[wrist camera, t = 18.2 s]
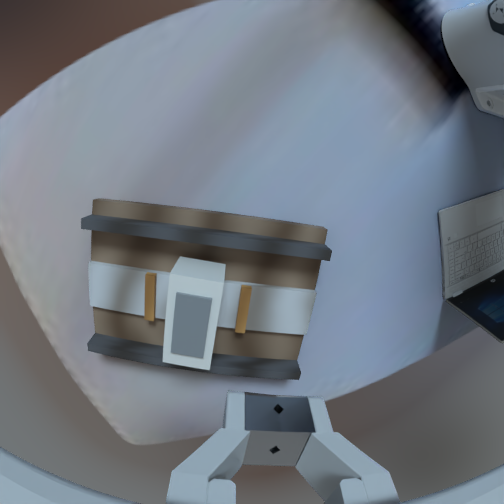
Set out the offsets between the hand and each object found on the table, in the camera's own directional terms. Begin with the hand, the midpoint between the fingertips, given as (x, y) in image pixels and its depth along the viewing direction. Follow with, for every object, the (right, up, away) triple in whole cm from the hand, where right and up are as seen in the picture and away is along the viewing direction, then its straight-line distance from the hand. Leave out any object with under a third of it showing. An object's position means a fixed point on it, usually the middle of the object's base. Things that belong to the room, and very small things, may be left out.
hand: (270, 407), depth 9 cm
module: (-6, 0, +22) cm, 23 cm away
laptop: (+32, +7, +25) cm, 41 cm away
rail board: (-6, 0, +24) cm, 25 cm away
